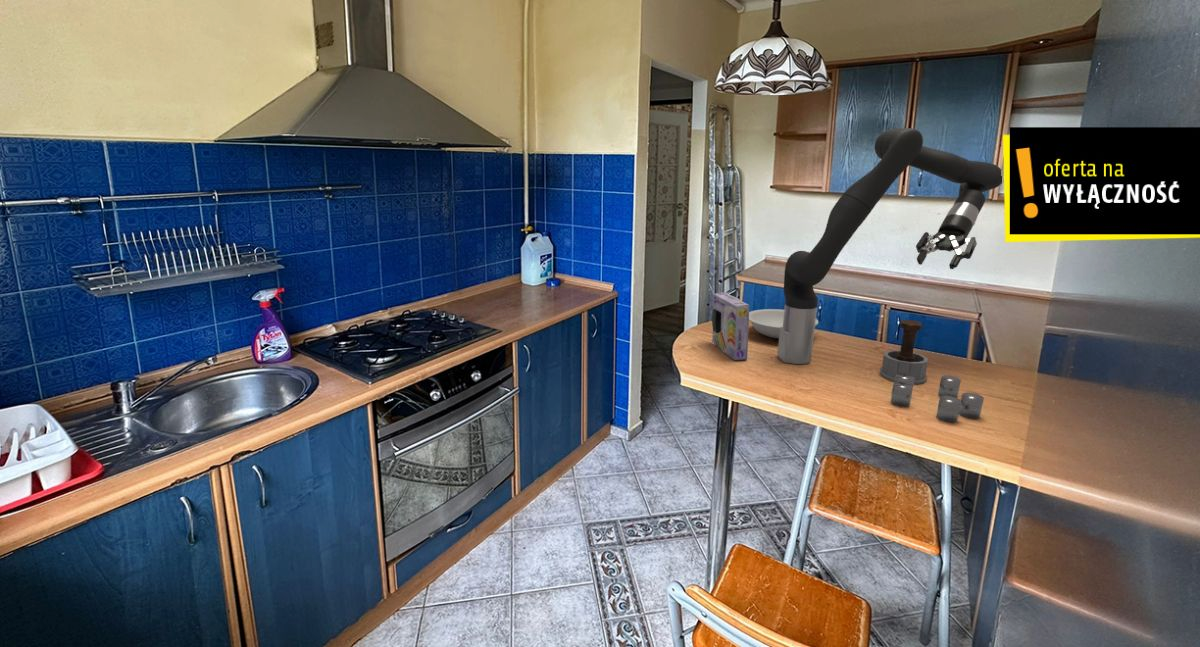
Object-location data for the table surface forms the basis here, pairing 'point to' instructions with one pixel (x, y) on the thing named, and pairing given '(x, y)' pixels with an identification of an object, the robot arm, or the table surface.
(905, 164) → the robot arm
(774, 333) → the soup bowl
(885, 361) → the round gray container
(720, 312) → the cake pan box
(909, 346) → the bolt
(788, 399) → the table surface
